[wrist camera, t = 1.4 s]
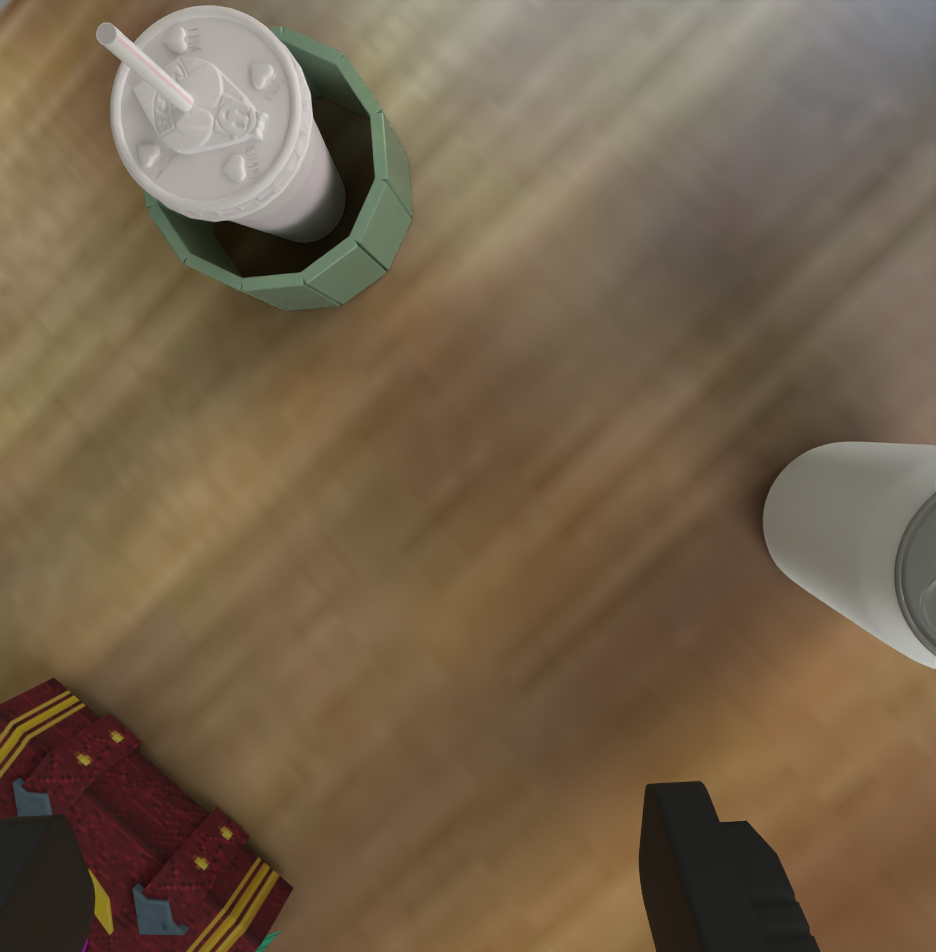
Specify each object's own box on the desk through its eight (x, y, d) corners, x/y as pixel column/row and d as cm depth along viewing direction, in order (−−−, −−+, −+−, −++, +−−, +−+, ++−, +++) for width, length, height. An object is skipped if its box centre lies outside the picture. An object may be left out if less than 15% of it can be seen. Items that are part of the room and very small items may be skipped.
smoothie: (256, 106, 34) (43, -120, 20) (395, 145, 33) (277, -59, 19) (217, 251, 34) (-16, 131, 20) (353, 292, 34) (209, 197, 20)
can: (726, 516, 32) (825, 568, 20) (845, 407, 32) (1021, 396, 20) (835, 628, 32) (999, 747, 20) (958, 522, 31) (1205, 581, 19)
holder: (330, 42, 33) (290, -26, 28) (453, 224, 33) (435, 188, 28) (161, 175, 34) (94, 133, 29) (279, 351, 34) (232, 338, 29)
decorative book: (61, 667, 36) (-17, 705, 31) (322, 895, 35) (284, 972, 31) (-71, 838, 38) (-167, 901, 33) (177, 1062, 37) (118, 1161, 32)
